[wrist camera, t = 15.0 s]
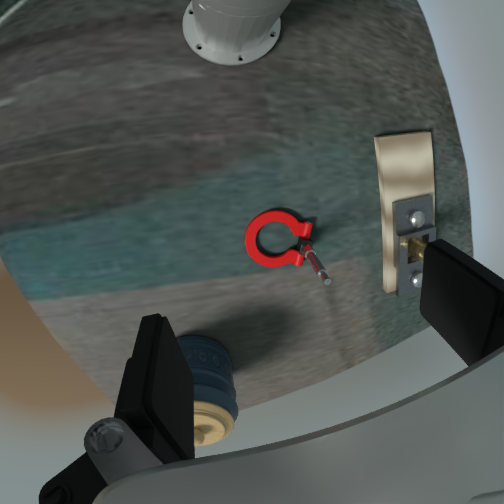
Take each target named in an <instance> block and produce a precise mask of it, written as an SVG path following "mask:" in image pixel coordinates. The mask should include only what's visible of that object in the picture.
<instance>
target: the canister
mask: <svg viewBox="0 0 504 504" xmlns="http://www.w3.org/2000/svg"><path fill="white" fill-rule="evenodd" d="M177 342H178V344H179V346H180V348H181V350H182V353H183V355H184V357H185V359H186V361H187V363H188V366H189V368H190V370H191V372H192V375H193V379H194V446H204V445H209V444H212V443H215V442H217V441H220V440H222V439H224V438H225V437H227V436H228V435H229V434H230V433H231V432H232V430H233V428H234V422H235V420H236V419H237V416H238V406H237V403H236V402H235V401H236V391H235V388H234V382H233V366H232V361H231V358H230V356H229V354H228V352H227V351H226V349H225V348H224V347H223V346H222V345H221V344H219V343H218V342H216V341H215V340H212V339H210V338H207V337H203V336H184V337H180V338H177Z"/></svg>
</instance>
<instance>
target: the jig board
mask: <svg viewBox="0 0 504 504" xmlns="http://www.w3.org/2000/svg"><path fill="white" fill-rule="evenodd" d="M374 141H375V149H376V157H377V167H378V176H379V188H380V200H381V216H382V237H383V289H384V290H385V291H386V292H387V293H389V292H392V291H395V290H396V268H395V267H394V266H393V215H392V202H395V201H400V200H404V199H409V198H414V197H418V196H423V195H427V194H430V195H433V225H434V224H435V194H434V167H433V152H432V140H431V132H426V131H424V132H414V133H404V134H394V135H386V136H378V137H374ZM416 238H418V239H419V240H421V241H422V236H418V237H416ZM410 256H413V255H411V254H410V253H409V252H408V257H410Z"/></svg>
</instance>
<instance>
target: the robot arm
mask: <svg viewBox="0 0 504 504" xmlns="http://www.w3.org/2000/svg"><path fill="white" fill-rule="evenodd" d="M290 2H291V0H192V1H191V3H190V4H189V6H188V7H187V9H186V11H185V14H184V17H183V32H184V36H185V39H186V41H187V43H188V45H189V46H190V47H191V49H192V50H193V51H194V52H195V53H196V54H198V55H199V56H200V57H202V58H203V59H205V60H207V61H209V62H212V63H215V64H219V65H224V66H237V65H244V64H247V63H251V62H253V61H255V60H257V59H259V58H261V57H262V56H264V55H265V54H266V53H268V51H269V50H270V49H271V48H272V47H273V46H274V44H275V43H276V41H277V39H278V37H279V34H280V29H281V19H280V15H281V14H282V13H283V11H284V10H285V8H286V7H287V6H288V4H289V3H290ZM191 12H193V14H190V13H191ZM270 35H273V36H274V37H271V36H270ZM198 47H201V49H200V50H198V49H197V48H198ZM239 58H242V61H239V60H238V59H239ZM420 312H421V314H422V316H423V317H424V318H425V319H426V320H427V321H428V322H429V323H430V324H431V326H432V327H433V328H434V329H435V330H436V331H437V332H438V333H439V334H440V335H441V336H442V337H443V338H444V339H445V340H446V342H447V343H448V344H449V345H450V346H451V347H452V348H453V349H454V350H455V352H456V353H457V354H458V355H459V356H460V357H461V358H462V359H463V360H464V362H465V363H466V364H467V365H468V366H469V367H467V368H465V369H464V370H462V371H460V372H458V373H456V374H455V375H453V376H451V377H449V378H447V379H445V380H443V381H441V382H439V383H437V384H435V385H433V386H431V387H429V388H427V389H425V390H423V391H421V392H418V393H416V394H414V395H412V396H410V397H407V398H405V399H403V400H401V401H398V402H396V403H394V404H392V405H389V406H387V407H384V408H381V409H379V410H376V411H374V412H371V413H369V414H366V415H363V416H361V417H358V418H355V419H353V420H350V421H347V422H344V423H341V424H338V425H335V426H332V427H329V428H326V429H322V430H319V431H316V432H312V433H309V434H306V435H302V436H299V437H295V438H291V439H287V440H284V441H279V442H275V443H271V444H266V445H262V446H258V447H253V448H249V449H244V450H240V451H234V452H229V453H223V454H218V455H212V456H206V457H200V458H195V452H194V451H195V449H194V379H193V375H192V372H191V370H190V368H189V366H188V363H187V361H186V359H185V357H184V355H183V353H182V350H181V348H180V346H179V344H178V342H177V339H176V337H175V335H174V332H173V330H172V328H171V326H170V323H169V321H168V319H167V317H166V316H164V317H161V315H160V314H159V313H157V314H153V315H148V316H144V317H142V320H141V323H140V327H139V331H138V334H137V338H136V342H135V346H134V350H133V354H132V358H129V359H128V360H127V363H126V367H125V370H124V374H123V378H122V383H121V387H120V391H119V395H118V399H117V404H116V408H115V413H114V417H112V418H111V417H110V418H109V417H108V418H104V419H101V420H99V421H97V422H96V423H94V424H93V425H92V426H91V427H90V428H89V429H88V431H87V432H86V434H85V437H84V447H85V450H86V453H85V454H83V455H82V456H81V457H79V458H78V459H77V460H75V461H74V462H73V463H72V464H70V465H69V466H68V467H67V468H65V469H64V470H63V471H61V472H60V473H59V474H57V475H56V476H55V477H53V478H52V479H51V480H49V481H48V482H47V483H46V484H45V485H44V486H43V487H42V489H41V491H40V494H39V504H504V279H502V278H501V277H499V276H498V275H496V274H495V273H493V272H492V271H491V270H489V269H488V268H486V267H485V266H483V265H482V264H480V263H479V262H477V261H476V260H474V259H473V258H471V257H470V256H468V255H467V254H465V253H464V252H462V251H461V250H459V249H457V248H456V247H454V246H453V245H451V244H450V243H448V242H446V241H445V240H443V239H438V240H435V241H432V242H429V243H428V244H427V246H426V248H425V249H424V257H423V275H422V288H421V299H420Z"/></svg>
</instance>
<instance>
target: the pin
mask: <svg viewBox="0 0 504 504" xmlns="http://www.w3.org/2000/svg"><path fill="white" fill-rule="evenodd" d="M426 246H427V244H426V243H424V242H423V241H421V240H419V239H418V238H416V237H415V238H411V239H408V252H409V253H410V254H411V255H413V256H414V257H416V258H417V259H418V260H420V261H421V262H423V257H424V249H425V248H426Z"/></svg>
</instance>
